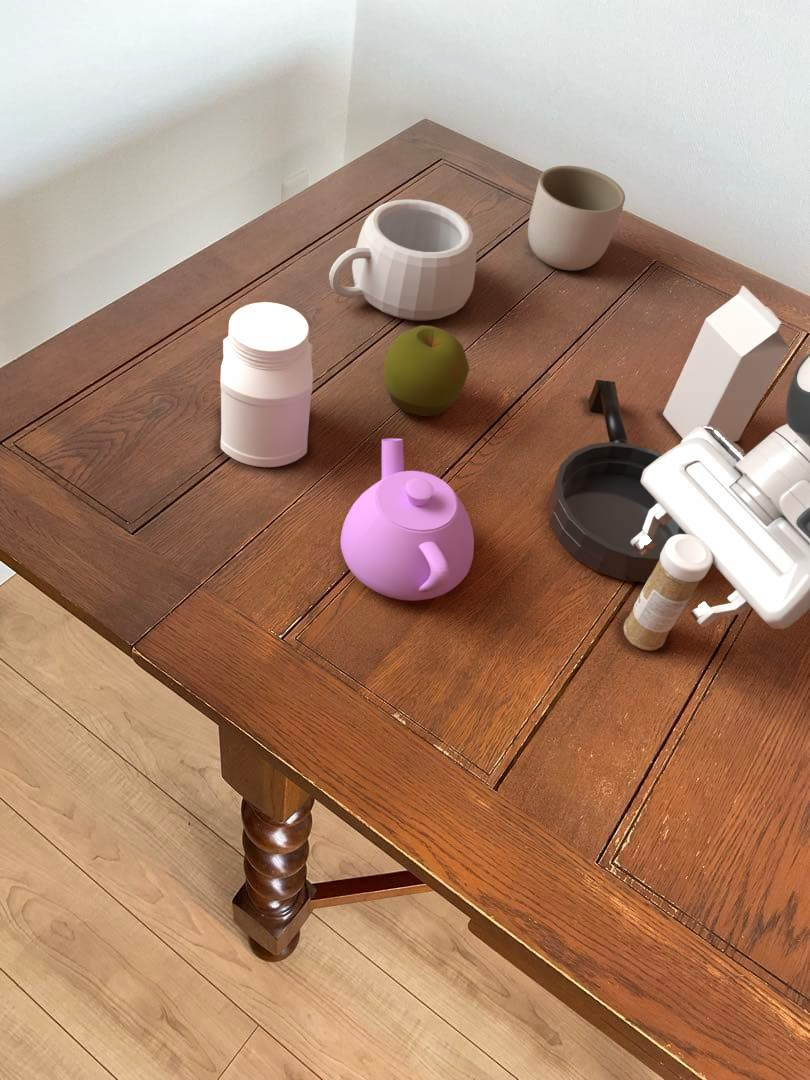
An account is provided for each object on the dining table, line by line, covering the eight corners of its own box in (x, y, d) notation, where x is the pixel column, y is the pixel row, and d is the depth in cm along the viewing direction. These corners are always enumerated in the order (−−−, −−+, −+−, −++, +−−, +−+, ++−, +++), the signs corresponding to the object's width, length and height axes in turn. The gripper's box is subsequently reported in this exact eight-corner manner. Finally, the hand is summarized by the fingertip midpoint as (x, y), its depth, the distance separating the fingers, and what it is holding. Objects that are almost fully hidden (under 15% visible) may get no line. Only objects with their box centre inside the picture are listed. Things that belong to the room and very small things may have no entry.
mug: (429, 246, 141) (440, 183, 134) (493, 312, 133) (509, 249, 125) (297, 275, 132) (302, 209, 124) (357, 348, 124) (366, 281, 116)
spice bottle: (633, 609, 102) (678, 524, 92) (672, 632, 100) (722, 549, 90) (614, 636, 99) (658, 551, 89) (653, 660, 98) (703, 577, 87)
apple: (386, 432, 114) (399, 358, 106) (371, 378, 120) (382, 304, 112) (467, 428, 116) (486, 356, 108) (449, 376, 122) (465, 304, 114)
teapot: (437, 477, 110) (454, 407, 102) (492, 619, 98) (516, 551, 90) (319, 489, 106) (327, 417, 98) (360, 637, 94) (373, 568, 86)
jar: (224, 396, 114) (224, 289, 103) (306, 401, 116) (315, 296, 104) (219, 465, 107) (218, 358, 95) (306, 470, 108) (316, 364, 97)
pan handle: (606, 403, 123) (617, 375, 120) (620, 473, 115) (633, 445, 112) (588, 401, 123) (598, 373, 120) (601, 471, 115) (612, 443, 111)
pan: (680, 477, 116) (694, 450, 113) (710, 591, 105) (726, 565, 101) (539, 462, 114) (548, 434, 111) (554, 577, 103) (565, 550, 100)
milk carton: (693, 452, 119) (756, 327, 105) (661, 415, 123) (718, 289, 109) (738, 441, 122) (805, 318, 108) (705, 405, 126) (766, 281, 112)
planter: (606, 244, 149) (628, 178, 140) (598, 288, 140) (621, 220, 132) (527, 224, 149) (545, 157, 141) (515, 266, 141) (533, 198, 133)
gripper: (701, 404, 93) (591, 500, 96) (854, 557, 82) (725, 659, 86) (717, 427, 98) (613, 518, 101) (863, 573, 87) (741, 670, 91)
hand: (665, 584), depth 93 cm, fingers open, 8 cm apart
